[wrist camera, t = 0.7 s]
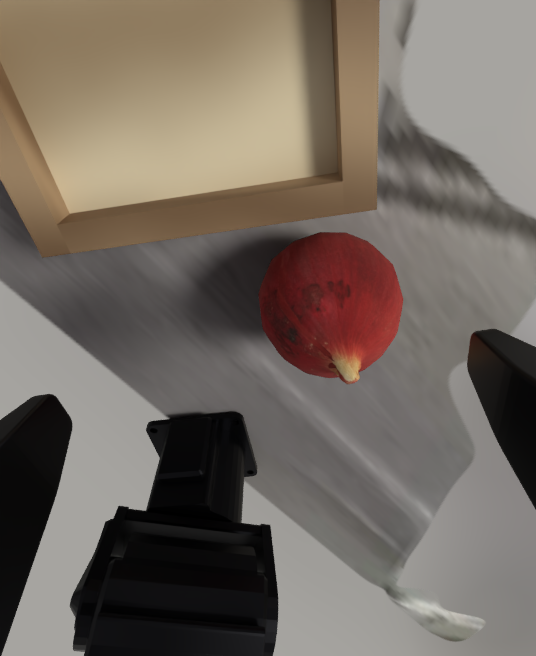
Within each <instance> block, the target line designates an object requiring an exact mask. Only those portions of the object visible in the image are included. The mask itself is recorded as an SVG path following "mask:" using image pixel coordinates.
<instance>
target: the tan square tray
mask: <svg viewBox="0 0 536 656" xmlns="http://www.w3.org/2000/svg"><path fill="white" fill-rule="evenodd" d="M378 71H379V0H0V179H1V181H2V183H3V185H4V187H5V189H6V190H7V192H8V194H9V196H10V198H11V200H12V202H13V204H14V205H15V207H16V209H17V211H18V213H19V215H20V217H21V218H22V220H23V222H24V224H25V226H26V228H27V230H28V232H29V233H30V235H31V237H32V239H33V241H34V243H35V245H36V247H37V248H38V250H39V252H40V254H41V256H42V258H43V257H50V256H57V255H64V254H71V253H78V252H85V251H92V250H99V249H106V248H113V247H120V246H126V245H133V244H140V243H147V242H154V241H161V240H168V239H175V238H182V237H189V236H196V235H203V234H210V233H217V232H224V231H231V230H238V229H245V228H252V227H259V226H266V225H272V224H279V223H286V222H293V221H300V220H307V219H314V218H321V217H328V216H335V215H342V214H349V213H356V212H363V211H370V210H377V147H378Z"/></svg>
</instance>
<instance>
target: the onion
mask: <svg viewBox="0 0 536 656" xmlns="http://www.w3.org/2000/svg"><path fill="white" fill-rule="evenodd" d="M258 295H259V303H260V312H261V320H262V327H263V330H264V332H265V333H266V335H267V336H268V338H269V340H270V341H271V342H272V344H273V345H274V347H275V348H276V350H277V351H278V353H279V354H280V355H281V356H282V357H283V358H284V359H285V360H286V361H288V362H289V363H291V364H292V365H294V366H295V367H297V368H298V369H300V370H302V371H303V372H305V373H307V374H312V375H316V376H321V377H325V378H335V377H339V378H340V379H341V380H342V381H343V382H345V383H346V384H351V383H355V382H357V381H358V380H359V378H360V376H359V372H360V371H363V370H365V369H366V368H367V367H368V366H370V365H371V364H372V363H373V362H375V361H376V360H377V359H379V358H380V357H381V356H382V355H383V353H384V352H385V351H386V349H387V348H388V346H389V345H390V343H391V342H392V341H393V339H394V337H395V336H396V334H397V331H398V326H399V321H400V316H401V311H402V305H403V297H402V293H401V289H400V286H399V282H398V279H397V275H396V272H395V269H394V267H393V264H392V263H391V262H390V261H389V260H388V259H387V258H385V257H384V256H383V255H382V254H381V253H380V252H379V251H378V250H377V249H376V248H375V247H374V246H373V245H372V244H370V243H369V242H368V241H365V240H363V239H360V238H358V237H355V236H353V235H350V234H348V233H329V232H320V233H317V234H314V235H311V236H308V237H305V238H302V239H299V240H297V241H294V242H292V243H291V244H290V245H289V246H287V247H286V248H285V249H284V250H283V251H282V252H280V253H279V254H278V255H277V256H276V257H274V258H273V259H272V260H271V263H270V265H269V267H268V270H267V272H266V274H265V277H264V279H263V282H262V284H261V287H260V291H259V294H258Z"/></svg>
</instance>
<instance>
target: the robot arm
mask: <svg viewBox="0 0 536 656" xmlns="http://www.w3.org/2000/svg"><path fill="white" fill-rule="evenodd" d="M467 367H468V372H469V375H470V378H471V380H472V382H473V385H474V387H475V390H476V392H477V394H478V397H479V399H480V402H481V404H482V406H483V409H484V411H485V414H486V416H487V418H488V420H489V423H490V425H491V428H492V430H493V433H494V435H495V437H496V439H497V441H498V443H499V445H500V447H501V449H502V451H503V452H504V454H505V456H506V458H507V460H508V461H509V463H510V465H511V467H512V468H513V470H514V472H515V474H516V476H517V477H518V479H519V481H520V483H521V484H522V486H523V488H524V490H525V491H526V493H527V495H528V497H529V499H530V500H531V502H532V504H533V506H534V507H535V509H536V347H534V346H532V345H530V344H528V343H526V342H523V341H521V340H519V339H517V338H515V337H512V336H510V335H508V334H506V333H504V332H502V331H499V330H497V329H487V330H481V331H475V332H474V333H473V334H472V335H471V339H470V346H469V354H468V361H467ZM71 431H72V420H71V418H70V416H69V415H68V414H67V412H66V410H65V409H64V407H63V406H62V404H61V403H60V402H59V400H58V399H57V397H56V396H54V395H52V394H46V395H39V396H34V397H32V398H30V399H29V400H27V401H26V402H25V403H23V404H22V405H20V406H19V407H18V408H17V409H15V410H14V411H12V412H11V413H9V414H8V415H7V416H5V417H4V418H2V419H1V420H0V656H1V655H2V652H3V649H4V646H5V643H6V640H7V637H8V634H9V631H10V628H11V626H12V623H13V619H14V617H15V614H16V611H17V608H18V605H19V602H20V599H21V597H22V593H23V591H24V588H25V585H26V582H27V579H28V576H29V573H30V570H31V567H32V565H33V561H34V558H35V556H36V553H37V550H38V547H39V544H40V541H41V538H42V535H43V532H44V530H45V527H46V524H47V521H48V518H49V515H50V512H51V509H52V506H53V503H54V500H55V497H56V494H57V490H58V487H59V482H60V479H61V474H62V469H63V466H64V462H65V457H66V453H67V449H68V445H69V440H70V436H71ZM146 431H147V433H148V435H149V437H150V439H151V441H152V443H153V445H154V447H155V449H156V451H157V453H158V455H159V457H160V460H159V464H158V468H157V471H156V475H155V480H154V483H153V487H152V490H151V494H150V498H149V502H148V506H147V510H146V511H142V510H133V509H129V507H124V506H118V509H117V511H116V514H115V516H114V519H110V520H109V521H106V522H105V525H104V528H103V531H102V534H101V537H100V540H99V542H98V545H97V548H96V550H95V553H94V555H93V557H92V559H91V561H90V563H89V564H88V566H87V568H86V570H85V572H84V574H83V576H82V578H81V580H80V582H79V583H78V585H77V587H76V589H75V591H74V593H73V596H72V598H71V602H70V608H71V610H72V612H73V614H74V616H75V617H76V620H75V627H74V629H75V635H74V641H73V650H74V651H81V652H85V654H84V656H273V652H274V647H275V642H276V634H277V622H278V591H277V581H276V573H275V564H274V556H273V555H274V554H273V546H272V537H271V529H270V525H265V524H261V525H252V524H244V523H241V520H242V504H243V503H242V502H243V485H244V477H249V476H254V475H256V474H257V465H256V461H255V457H254V454H253V450H252V447H251V443H250V439H249V436H248V432H247V429H246V425H245V421H244V418H243V416H242V415H241V414H240V413H226V414H217V415H207V416H197V417H187V418H177V419H167V420H158V421H151V422H149V423H148V425H147V428H146Z"/></svg>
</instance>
